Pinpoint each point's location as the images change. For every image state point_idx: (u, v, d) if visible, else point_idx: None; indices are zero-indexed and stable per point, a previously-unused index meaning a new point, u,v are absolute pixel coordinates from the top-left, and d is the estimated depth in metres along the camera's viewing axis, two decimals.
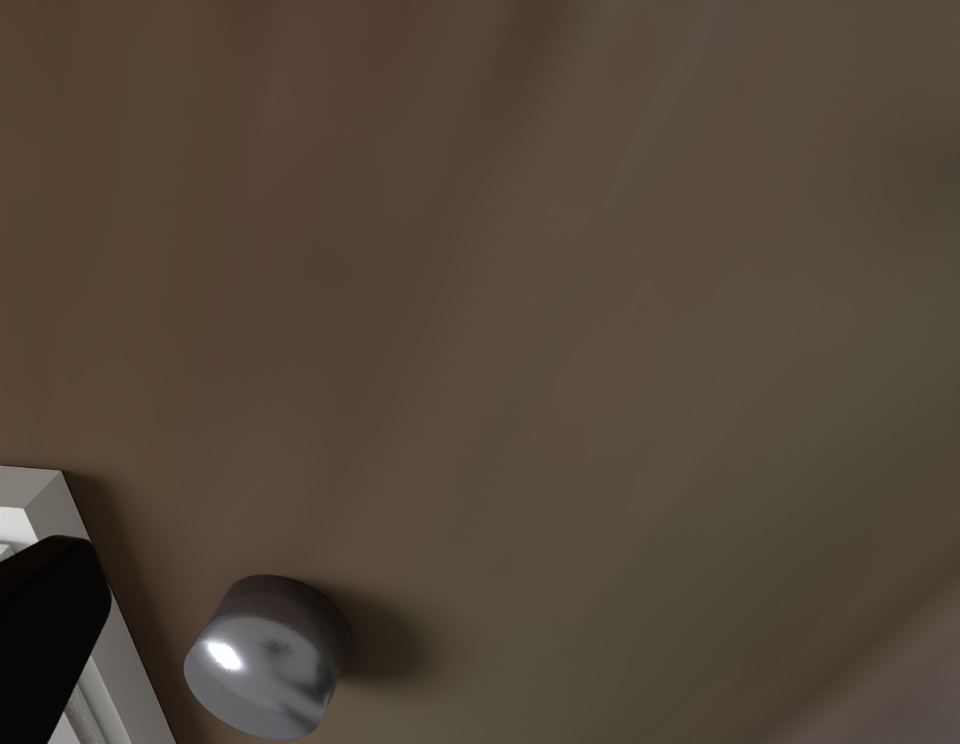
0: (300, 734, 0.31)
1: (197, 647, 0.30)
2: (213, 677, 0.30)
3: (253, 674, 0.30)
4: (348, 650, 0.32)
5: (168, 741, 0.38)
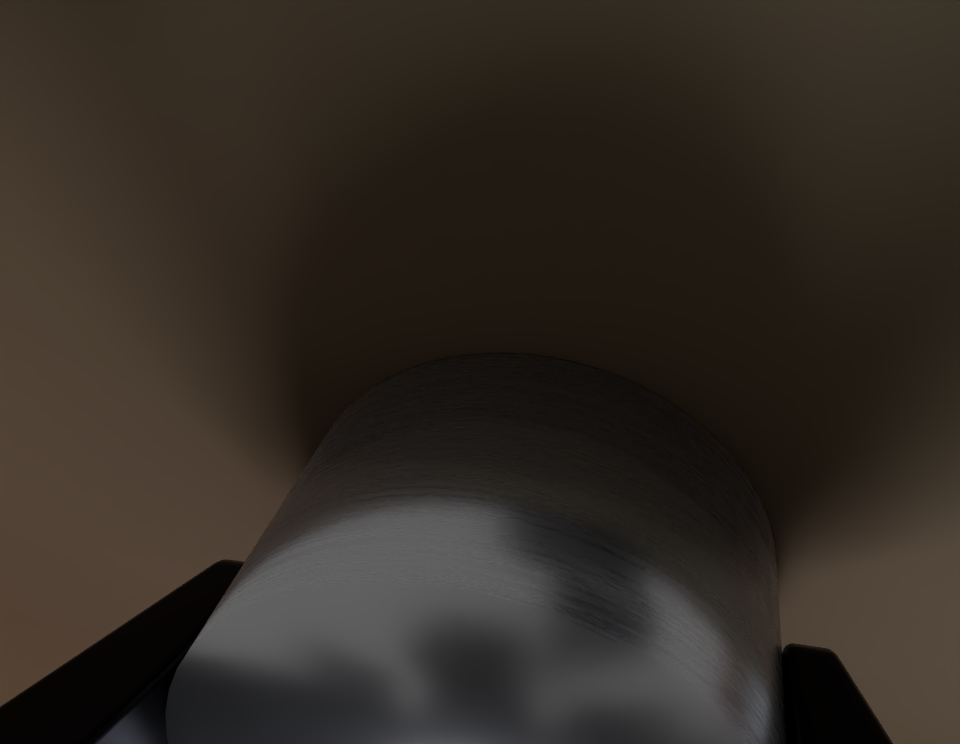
0: None
1: None
2: None
3: None
4: (552, 395, 0.08)
5: None
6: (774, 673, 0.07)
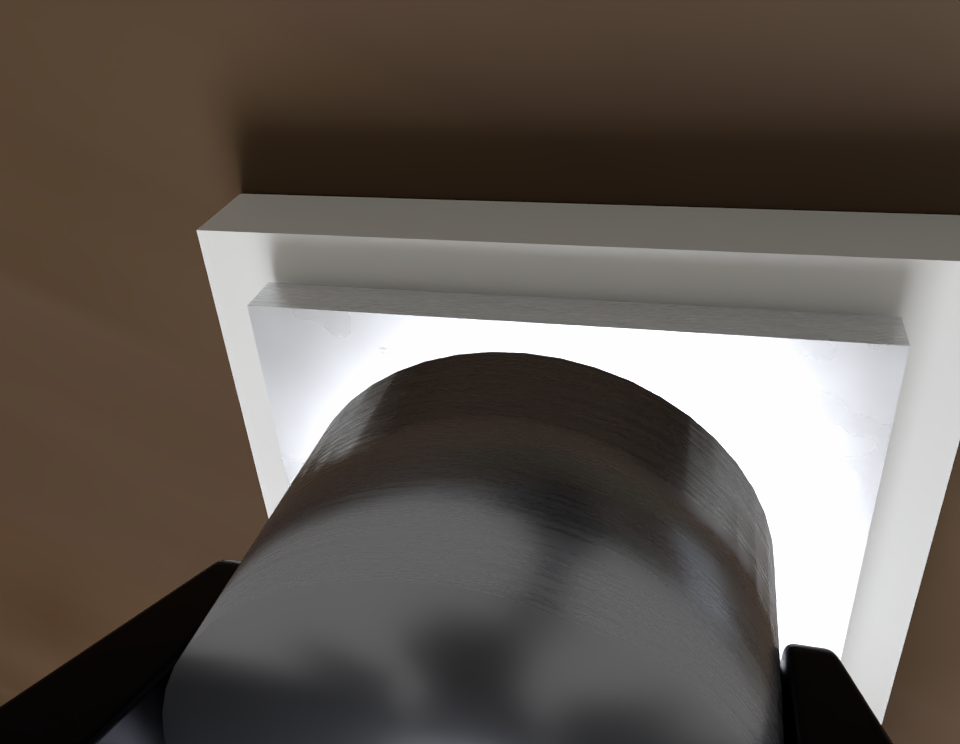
0: None
1: None
2: None
3: None
4: (550, 393, 0.08)
5: (935, 221, 0.17)
6: (772, 671, 0.07)
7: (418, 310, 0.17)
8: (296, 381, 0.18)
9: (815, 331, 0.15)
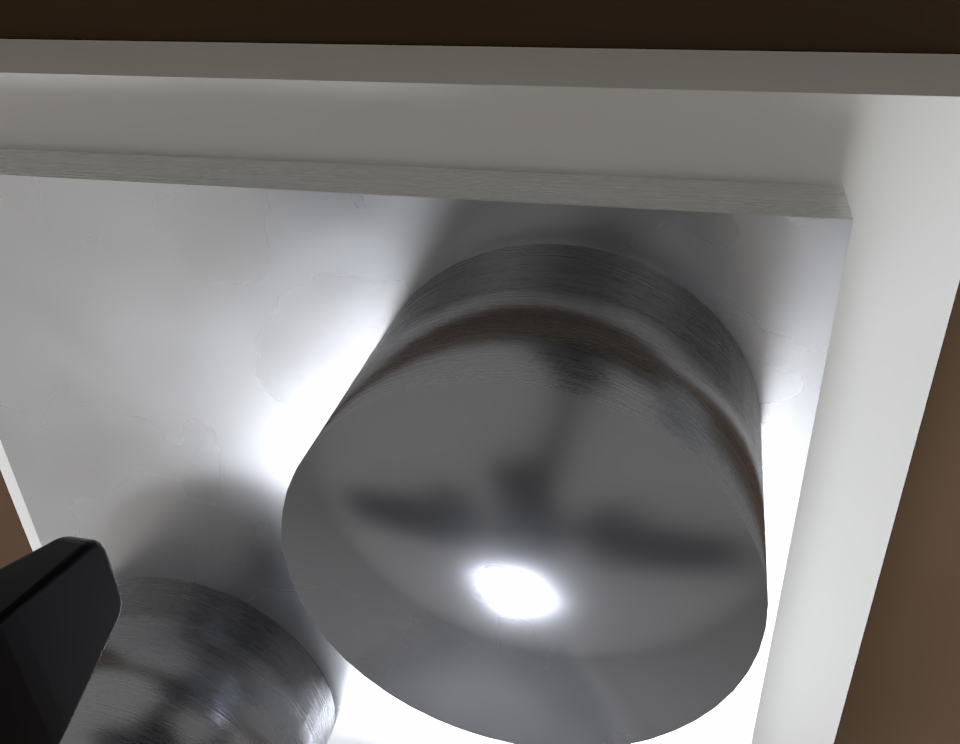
0: (725, 518, 0.08)
1: (355, 663, 0.10)
2: (473, 672, 0.10)
3: (428, 563, 0.09)
4: (582, 270, 0.10)
5: (899, 58, 0.11)
6: (755, 475, 0.09)
7: (136, 175, 0.11)
8: None
9: (711, 202, 0.10)
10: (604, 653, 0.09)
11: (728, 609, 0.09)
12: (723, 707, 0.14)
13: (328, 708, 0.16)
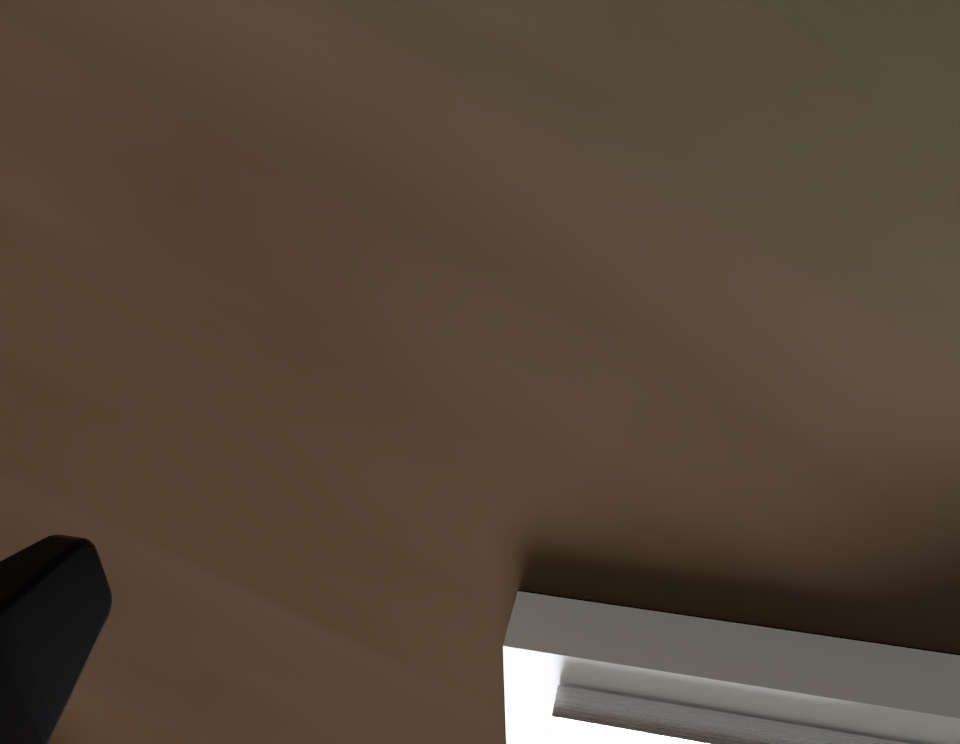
0: None
1: None
2: None
3: None
4: None
5: None
6: None
7: (690, 732, 0.23)
8: None
9: None
10: None
11: None
12: None
13: None
